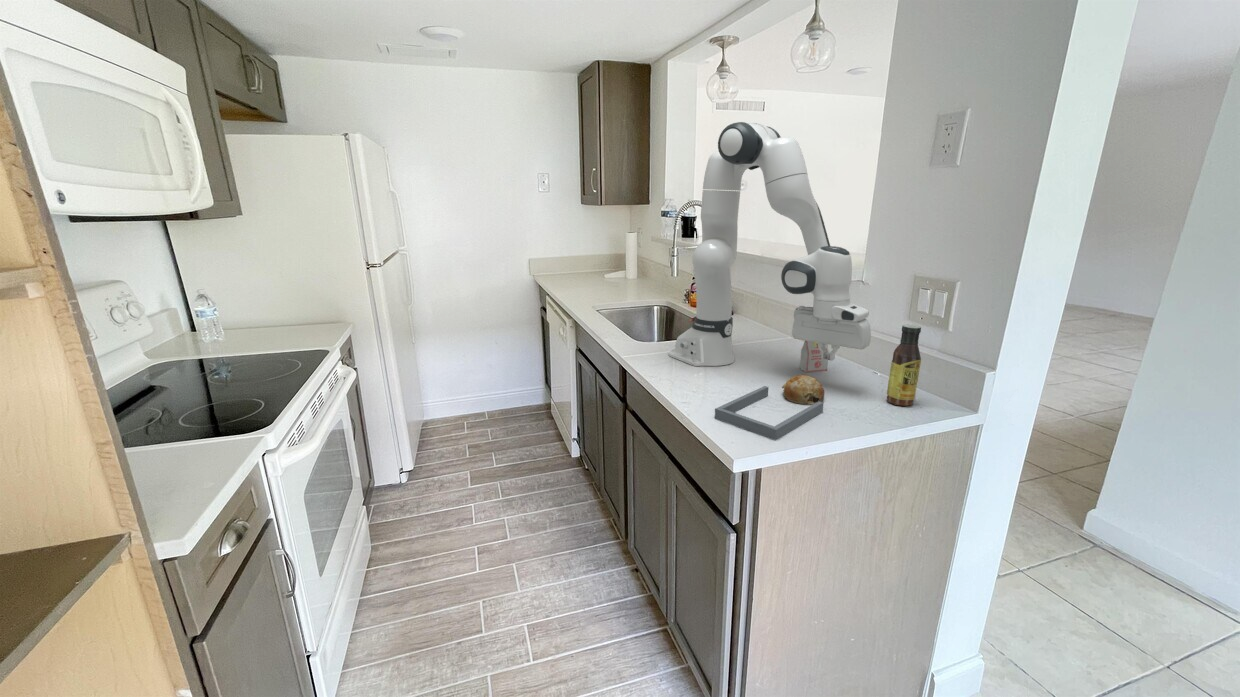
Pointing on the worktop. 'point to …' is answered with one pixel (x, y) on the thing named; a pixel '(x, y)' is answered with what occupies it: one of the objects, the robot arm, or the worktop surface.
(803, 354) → the ivan chai tea box
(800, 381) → the bread roll
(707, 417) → the worktop surface
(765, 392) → the slate bay
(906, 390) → the sauce bottle
